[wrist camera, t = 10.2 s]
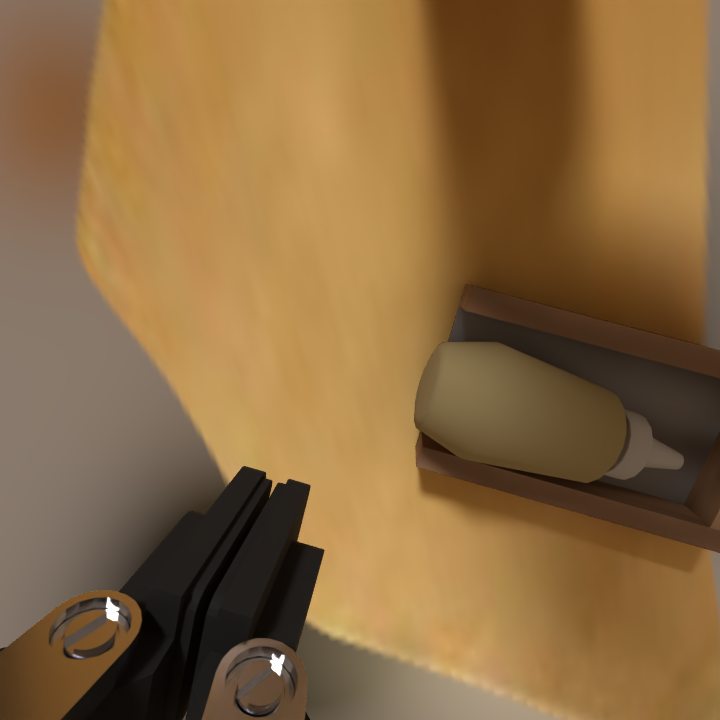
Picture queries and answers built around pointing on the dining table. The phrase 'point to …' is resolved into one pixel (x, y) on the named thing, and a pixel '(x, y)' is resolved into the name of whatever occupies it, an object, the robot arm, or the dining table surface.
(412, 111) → the dining table surface
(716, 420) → the brown wooden tray
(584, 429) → the squeeze bottle
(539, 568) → the dining table surface
